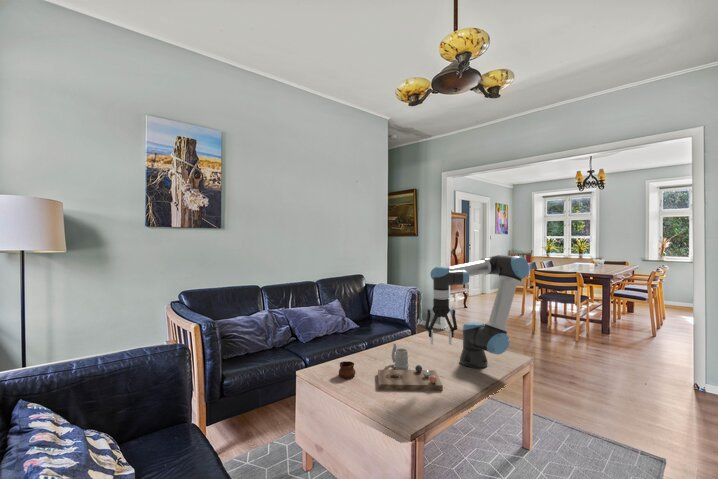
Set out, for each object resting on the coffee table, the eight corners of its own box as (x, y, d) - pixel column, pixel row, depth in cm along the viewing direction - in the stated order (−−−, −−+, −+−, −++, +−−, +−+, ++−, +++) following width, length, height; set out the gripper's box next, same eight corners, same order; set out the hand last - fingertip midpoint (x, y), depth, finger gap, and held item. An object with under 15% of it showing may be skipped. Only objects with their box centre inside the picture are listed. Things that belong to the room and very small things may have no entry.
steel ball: (429, 375, 172) (429, 369, 172) (430, 378, 168) (430, 371, 168) (422, 375, 172) (422, 368, 172) (423, 378, 169) (423, 371, 169)
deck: (435, 375, 179) (435, 370, 179) (442, 390, 161) (442, 385, 161) (377, 374, 180) (377, 369, 180) (378, 389, 162) (378, 384, 162)
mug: (401, 371, 184) (401, 349, 184) (386, 365, 193) (387, 343, 193) (411, 368, 188) (411, 346, 188) (397, 362, 198) (397, 341, 198)
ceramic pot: (331, 384, 168) (331, 370, 168) (328, 371, 185) (328, 358, 185) (367, 382, 171) (367, 368, 171) (360, 369, 188) (361, 357, 188)
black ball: (421, 370, 179) (421, 364, 179) (422, 373, 175) (422, 366, 175) (414, 370, 179) (414, 364, 179) (415, 373, 175) (415, 366, 175)
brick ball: (436, 381, 165) (436, 374, 165) (437, 384, 162) (437, 377, 162) (428, 381, 166) (428, 374, 165) (430, 384, 162) (430, 377, 162)
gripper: (460, 296, 173) (460, 341, 173) (418, 296, 174) (418, 341, 174) (464, 299, 166) (464, 346, 166) (420, 299, 166) (420, 345, 167)
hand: (440, 343), depth 170 cm, fingers open, 8 cm apart
